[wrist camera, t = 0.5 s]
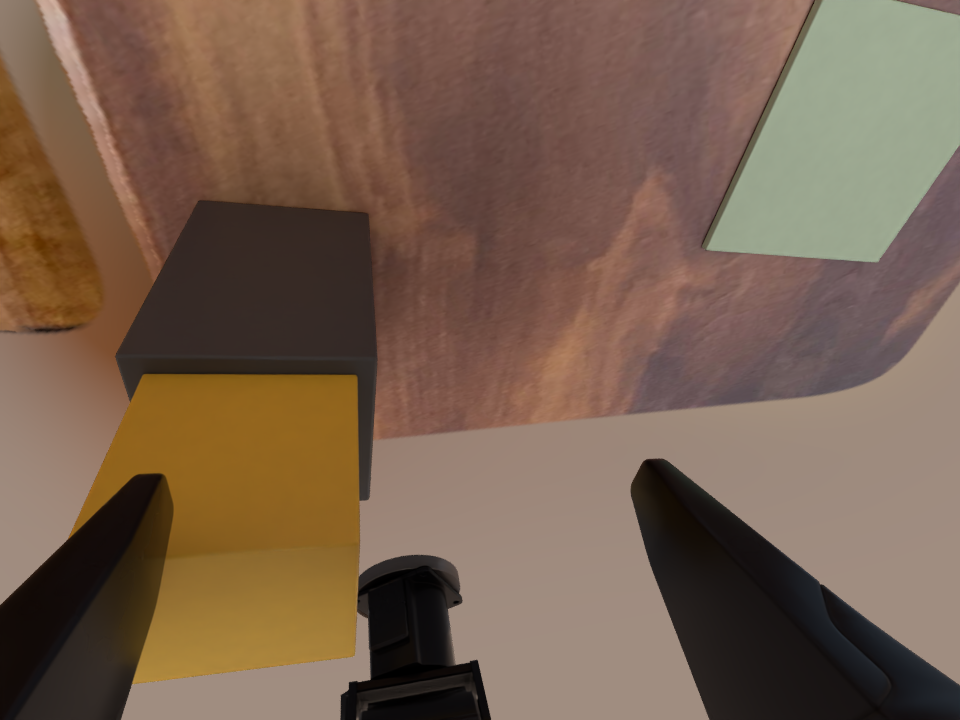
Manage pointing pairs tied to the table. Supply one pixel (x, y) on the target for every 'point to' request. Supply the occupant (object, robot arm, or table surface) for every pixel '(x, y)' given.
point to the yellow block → (246, 517)
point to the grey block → (263, 303)
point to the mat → (847, 134)
